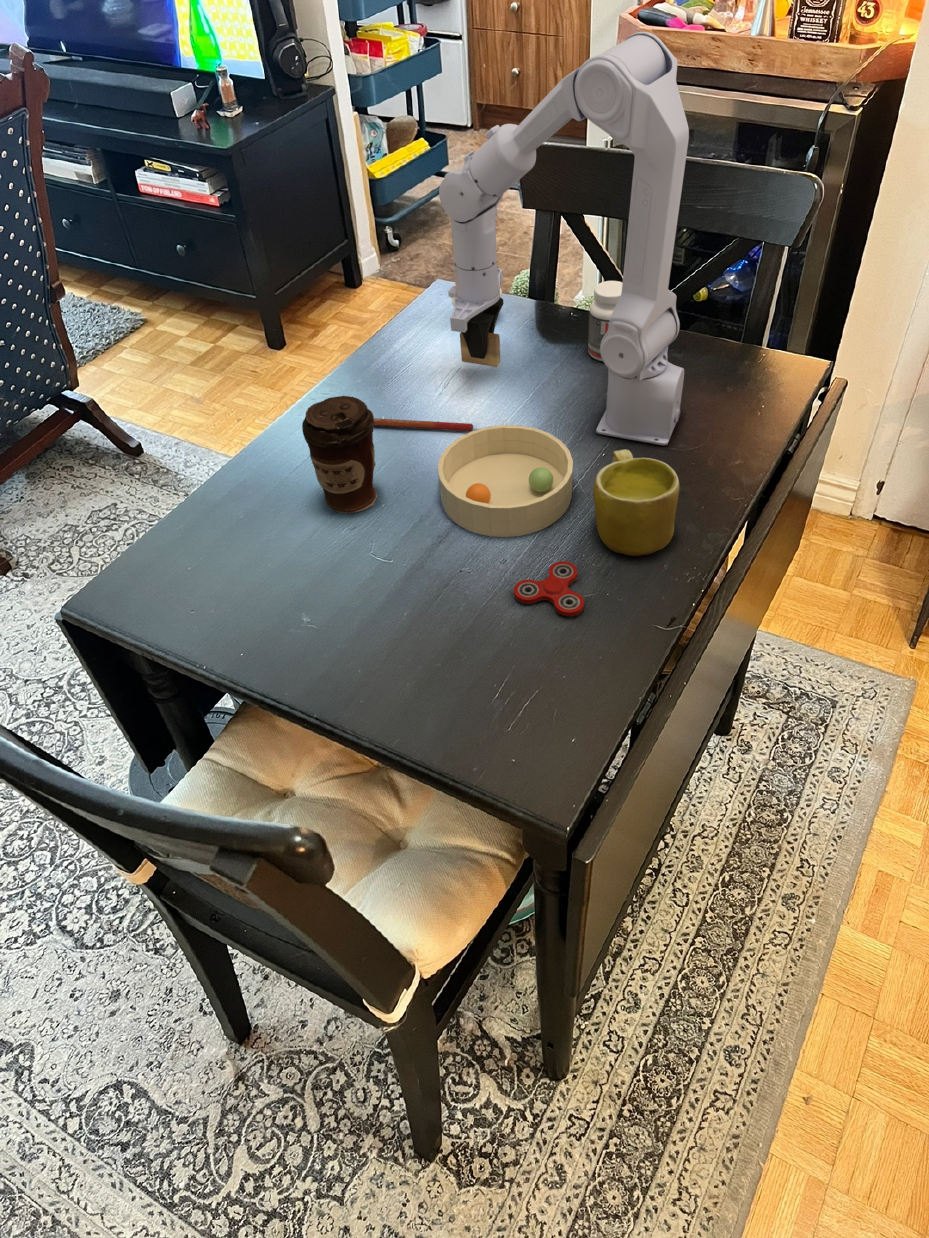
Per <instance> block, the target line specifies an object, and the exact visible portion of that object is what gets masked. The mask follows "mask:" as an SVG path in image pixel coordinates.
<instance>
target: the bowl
mask: <svg viewBox="0 0 929 1238" xmlns="http://www.w3.org/2000/svg"><path fill="white" fill-rule="evenodd" d="M572 457H573V456H572V454H571V451H570V449H569V448H568V447H567V446H566V445H565V444H564V443H563V441H562V440H560V439H559V438H557V437H556V436H554V435H553V434H552V433H549V432H547V431H544V430H542V429H539V428H536V427H531V426H526V425H520V424H499V425H491V426H485V427H481V428H478V429H475V430H472V431H468V432H467V433H466V434H463V435H462V436H460V437H457V438H456V439H455V440H454V441H452V442H451V443H450V444H448V446H447V447H446V448H445V449H444V451H443V452H442V454H441V455H440V457H439V460H438V465H437V476H438V477H437V478H438V486H439V494H440V501H441V505H442V508H443V510H444V512H445V513H446V514H447V516H448V518H449V519H451V521H452V522H454V523H455V524H457V525H458V526H459V527H461V528H463V529H464V530H467V531H469V532H472V533H474V534H478V535H482V536H486V537H495V538H512V537H520V536H525V535H530V534H533V533H537V532H539V531H542V530H544V529H546V528H547V527H549V526H551V525H553V524H554V523H556V522H557V521H558V520H559V519H561V518H562V516H563V515H564V514H565V513H566V512H567V510H568V509H569V507H570V505H571V502H572V495H573V479H574V478H573V474H574V460H573V458H572ZM539 467H543V468H546V469H548V470H549V471H550V472H551V473H552V475H553V484H552V486H551V488H550V489H548V490H547V491H545V492H537V491H535V490H533V489H532V488H531V487H530V485H529V475H530V473H531V472H532V471H533V470H534V469H536V468H539ZM476 483H481V484H484V485H485V486H487V487H488V489H489V490H490V494H491V498H490V501H489V503H488V504H487V503H482V502H477V501H473V500H471V499H469V498H466V492H467V490H468V488H469V487H470V486H471V485H473V484H476Z"/></svg>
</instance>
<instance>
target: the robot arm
mask: <svg viewBox="0 0 929 1238" xmlns="http://www.w3.org/2000/svg"><path fill="white" fill-rule="evenodd" d="M678 63H679V61H678V59H677V58H676V57H675V55H673V53H672V51H670V49H669V48H668V47H667V46H666V45H665V43H664V42H663V41H662V40H661V39H660V38H659V37H658V36H657V35H655V34H654V33H651V32H648V31H638V32H634V33H632V34H630V35H629V36H627V37H626V38H625V39H624V40H623V41H622V42H620V43H618V44H616V45H614V46H612V47H611V48H609V49H608V50H606V51H604V52H602V53H600V54H597V55H595V56H594V55H593V56H592V57H589V58H588V59H587V60H586V61H584V62H583V64H582V65H581V66H579V67H578V68H576V69H574V70H573V71H571V72H570V73H568V74H566V75H565V76H564V77H563V78H562V79H560V80H559V82H558V83H556V85H555V86H554V87H553V88H552V89H551V90H550V91H549V93H548V94H546V96H544V98H543V99H542V100H541V101H540V102H538V104H537V105H536V106H535V107H534V108H533V109H532V110H531V112H529V113H528V115H526V116H525V118H524V119H523V120H522V121H521V122H519V124H515V123H504V124H503V125H501V126H500V125H499V124H496V125H494V126H493V127H491V128H490V129H489V130H488V131H487V132H486V133H485V137H486V139H487V140H486V141H484V143H483V144H482V145H480V147H479V148H477V150H476V151H474V150H472V151H470V152H468V153H467V154H466V155H465V156H464V157H463V161H464V164H463V165H462V166H460V167H459V168H457V169H455V170H453V171H450V172H447V173H445V175H444V177H443V179H442V180H441V182H440V184H439V189H438V196H439V201H440V204H441V206H442V209H443V210H444V212H445V213H446V214H447V216H448V217H449V218H450V228H451V243H452V255H453V269H454V284H455V285H456V286H454V285H452V286H451V287H450V288H449V290H448V291H447V294H448V297H449V298H452V297H453V298H454V306H453V308H452V309H453V311H452V313H451V315H450V317H449V320H450V321H449V322H450V331H452V332H458V333H462V335H463V337H464V339H465V342H466V345H467V348H468V351H469V353H470V356H471V357H473V358H479V359H484V358H485V356H486V352H487V343H488V334H489V333H495V328H496V324H497V321H498V317H499V314H500V312H501V310H502V308H503V306H504V303H505V302H504V299H503V298H500V288H501V285H502V284H503V283H504V277H503V276H504V274H503V273H504V272H503V268H499V267H498V253H497V252H498V251H497V250H498V249H497V230H496V229H497V227H496V226H497V223H496V222H497V221H496V217H498V205H499V203H500V201H501V200H502V199H503V197H504V194H505V193H506V192H508V191H509V189H511V188H512V187H513V186H514V185H515V184H516V183H518V181H520V180H521V179H522V178H524V176H525V175H526V174H527V173H530V171H531V170H532V169H533V168H534V167H535V165H536V161H537V149H538V148H539V147H540V146H542V145H543V144H544V143H545V142H547V141H548V140H549V139H550V138H551V137H552V136H554V135H555V134H556V133H557V132H558V131H559V130H560V129H562V128H563V127H564V126H565V125H566V124H568V123H569V122H570V121H571V120H572V119H574V120H576V121H577V122H582V121H583V120H585V119H587V120H588V121H590V122H591V124H594V126H596V127H598V128H599V129H601V130H602V131H603V132H605V133H606V134H608V135H609V136H610V137H612V138H614V139H615V140H616V141H618V142H619V143H621V144H622V145H623V146H625V147H627V149H629V150H630V152H632V154H633V156H634V162H633V171H632V181H631V190H630V191H631V192H630V203H629V212H628V223H627V234H626V243H625V254H624V264H623V273H622V293H621V296H620V298H619V300H618V302H617V304H616V306H615V308H614V310H613V312H612V314H611V317H610V322H609V328H608V331H607V333H606V334H605V336H604V337H603V339H602V341H601V344H600V353H601V357H602V360H603V361H602V362H603V363H604V365H605V367H606V368H607V370H608V371H607V372H608V374H607V375H608V376H607V388H606V389H607V390H606V395H607V396H606V404H605V405H606V407H605V408H606V409H605V411H604V413H603V415H602V417H601V419H600V421H599V423H598V425H597V427H596V430H595V432H596V434H598V435H603V436H609V437H613V438H619V439H624V440H631V441H636V442H642V443H646V444H647V443H648V444H653V445H658V446H664V447H665V446H668V445H669V442H670V439H671V437H672V434H673V431H674V430H675V427H676V425H677V423H678V422H679V418H680V415H681V403H682V397H683V396H682V395H683V389H684V388H683V387H684V380H685V368H684V367H681V366H678V365H675V364H673V363H671V362H669V361H668V350H669V346H670V345H671V344H672V343H673V342H674V341H675V340H676V339H677V337H678V335H679V332H680V328H681V327H680V326H681V323H680V319H679V316H678V312H677V295H676V293H674V292H673V291H671V290H670V289H669V285H670V278H671V270H672V263H673V256H674V249H675V243H676V242H675V241H676V233H677V228H678V227H677V226H678V220H679V212H680V206H681V205H680V204H681V197H682V191H683V184H684V176H685V168H686V161H687V155H688V146H689V140H690V128H689V124H688V121H687V120H688V119H687V116H686V113H685V109H684V106H683V101H682V98H681V95H680V91H679V86H678V83H677V75H678V74H677V72H678V66H679V65H678Z"/></svg>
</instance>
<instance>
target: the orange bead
mask: <svg viewBox="0 0 929 1238" xmlns="http://www.w3.org/2000/svg"><path fill="white" fill-rule="evenodd" d="M466 498H469V499H471V500H473V501H477V502H482V503H487V504H488V503H489V501H490V498H491V494H490V490H489V489H488V487H487V486H485V485H484V484H481V483H476V484H473V485H471V486H470V487H469V488H468V490H467V492H466Z"/></svg>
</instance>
